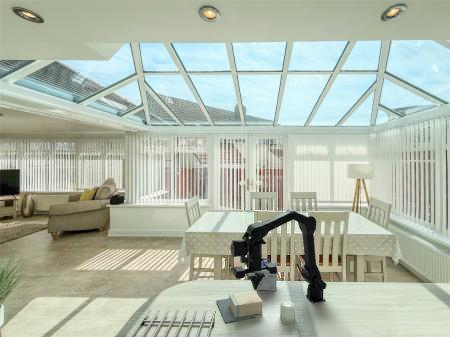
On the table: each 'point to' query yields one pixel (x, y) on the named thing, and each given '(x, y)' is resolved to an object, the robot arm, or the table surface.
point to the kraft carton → (245, 303)
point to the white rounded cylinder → (287, 312)
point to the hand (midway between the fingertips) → (254, 289)
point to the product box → (267, 279)
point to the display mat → (230, 312)
